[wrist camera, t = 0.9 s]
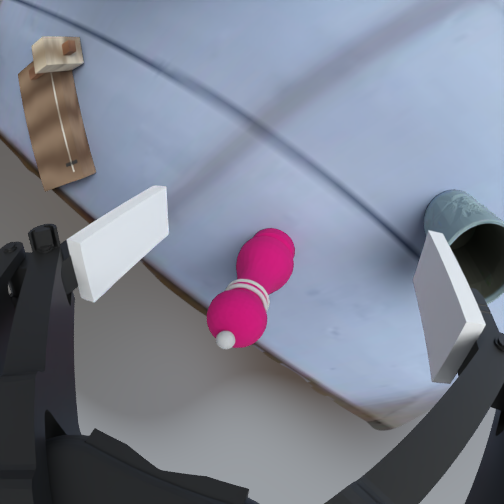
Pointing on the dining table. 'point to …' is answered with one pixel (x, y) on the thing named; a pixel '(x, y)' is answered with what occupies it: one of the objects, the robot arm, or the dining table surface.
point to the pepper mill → (251, 289)
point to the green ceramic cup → (471, 239)
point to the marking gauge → (55, 55)
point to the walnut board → (55, 127)
